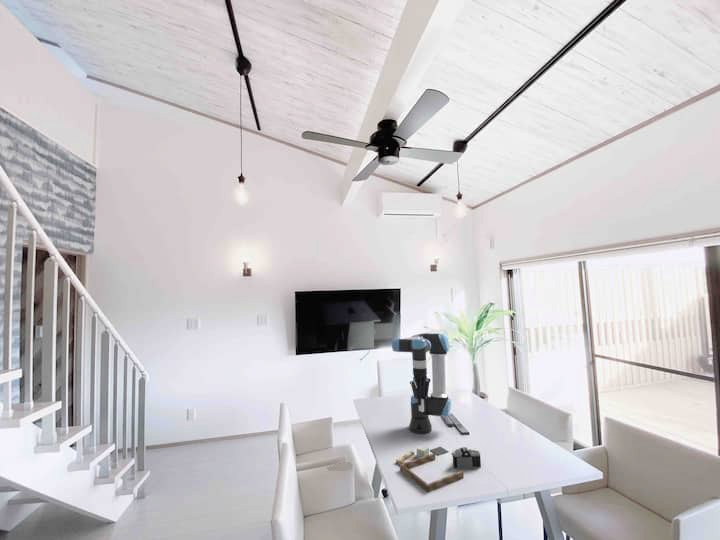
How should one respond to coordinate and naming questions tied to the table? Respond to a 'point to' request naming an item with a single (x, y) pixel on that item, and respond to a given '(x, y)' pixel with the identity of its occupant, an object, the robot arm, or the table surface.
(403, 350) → the robot arm
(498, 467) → the table surface
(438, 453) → the pad
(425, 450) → the sage cube
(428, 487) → the brown wooden u frame
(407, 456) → the crook
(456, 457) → the camera
